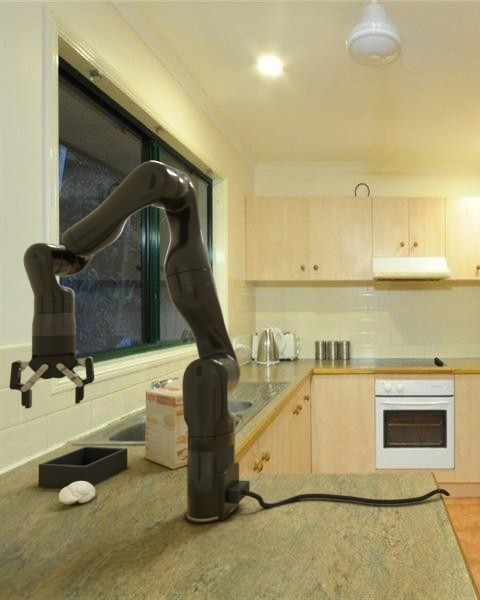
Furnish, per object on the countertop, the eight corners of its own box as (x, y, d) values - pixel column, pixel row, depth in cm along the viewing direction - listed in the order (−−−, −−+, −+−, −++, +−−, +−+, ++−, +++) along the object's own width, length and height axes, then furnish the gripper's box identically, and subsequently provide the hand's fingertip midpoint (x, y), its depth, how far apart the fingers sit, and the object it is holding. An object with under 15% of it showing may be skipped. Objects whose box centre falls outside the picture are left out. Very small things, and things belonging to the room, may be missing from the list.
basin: (127, 468, 108) (127, 448, 108) (85, 489, 95) (85, 467, 95) (85, 465, 109) (85, 446, 109) (38, 486, 97) (38, 464, 97)
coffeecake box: (198, 461, 112) (199, 391, 113) (172, 470, 106) (173, 396, 107) (169, 450, 120) (170, 385, 121) (144, 458, 114) (144, 390, 115)
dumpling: (83, 495, 93) (89, 477, 94) (97, 503, 91) (103, 486, 92) (48, 503, 87) (55, 484, 87) (62, 512, 85) (68, 493, 85)
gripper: (6, 335, 84) (5, 413, 83) (91, 333, 91) (91, 404, 91) (16, 333, 90) (16, 405, 90) (96, 331, 97) (95, 398, 97)
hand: (53, 405), depth 90 cm, fingers open, 8 cm apart
